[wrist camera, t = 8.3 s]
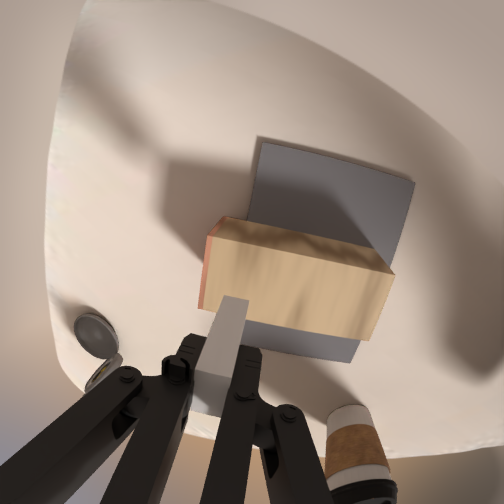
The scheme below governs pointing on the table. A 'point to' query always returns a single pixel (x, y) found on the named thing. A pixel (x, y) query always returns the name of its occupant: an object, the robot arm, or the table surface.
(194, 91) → the table surface
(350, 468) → the coffee cup
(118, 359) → the pocket watch
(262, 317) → the oak block
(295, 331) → the rubber mat
